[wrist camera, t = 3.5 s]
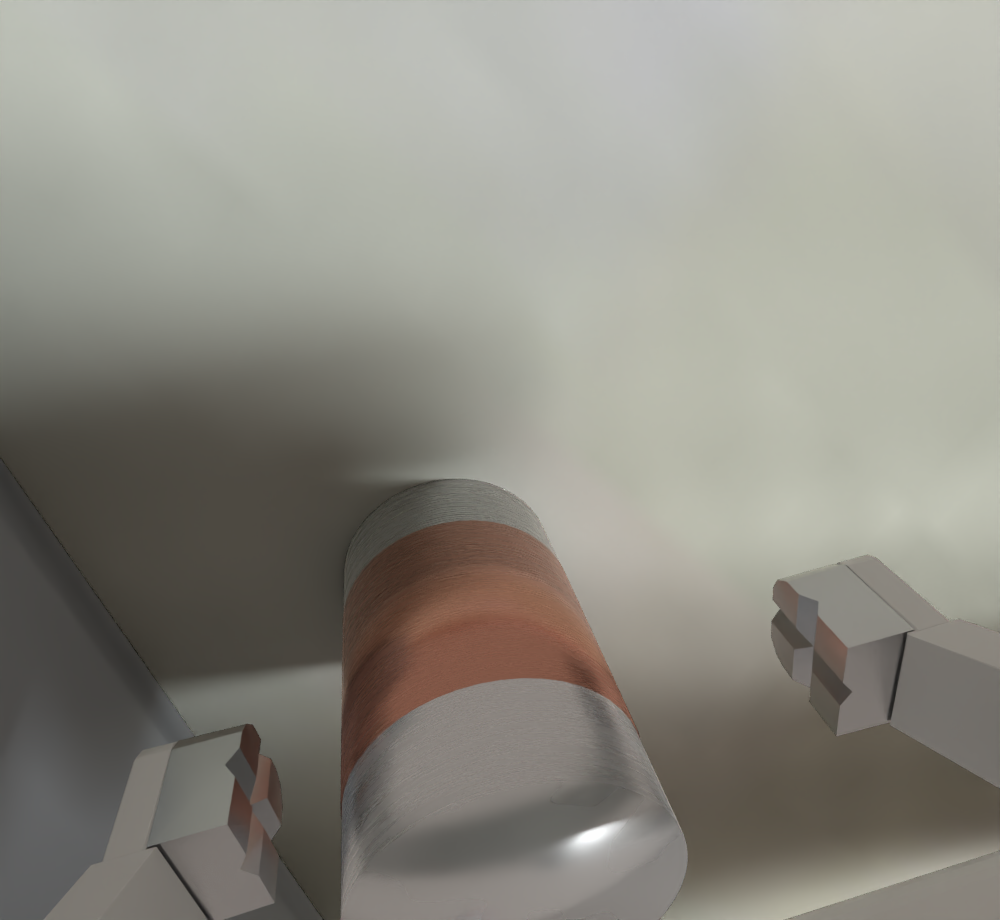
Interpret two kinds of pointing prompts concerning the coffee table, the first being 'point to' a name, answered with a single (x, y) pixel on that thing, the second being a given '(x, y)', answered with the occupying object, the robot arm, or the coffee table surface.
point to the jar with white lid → (487, 729)
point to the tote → (71, 722)
